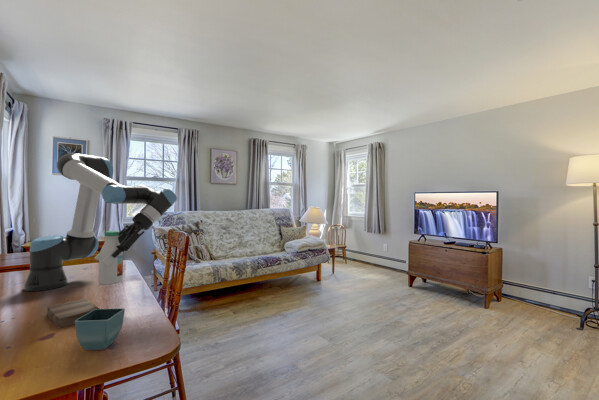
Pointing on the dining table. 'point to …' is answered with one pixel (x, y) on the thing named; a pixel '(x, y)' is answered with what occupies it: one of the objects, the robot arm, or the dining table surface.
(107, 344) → the flower pot
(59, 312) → the brown flat block
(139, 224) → the robot arm
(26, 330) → the dining table surface
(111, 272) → the milk bottle
